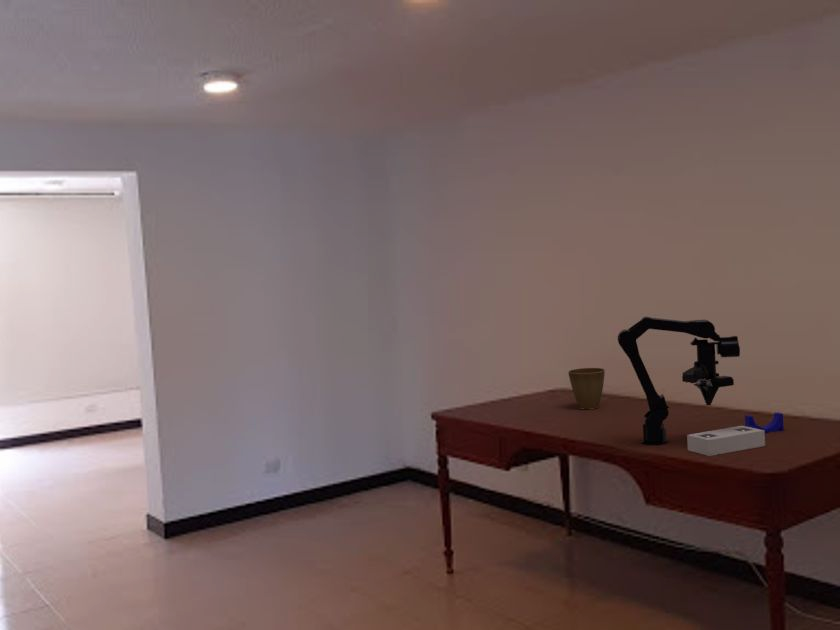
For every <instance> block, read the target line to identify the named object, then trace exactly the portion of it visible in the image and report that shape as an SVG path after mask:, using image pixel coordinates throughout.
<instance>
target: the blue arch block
mask: <svg viewBox="0 0 840 630" xmlns="http://www.w3.org/2000/svg"><path fill="white" fill-rule="evenodd" d="M744 424H745V425H744V426H746V427H751V428H755V429H760V430H764V432H765V434H769V433H775V432H785V431H784V413H782V412H778V411H777V412H774V414H773V418H772V421H770V423H769V424H767V425H764V426H760V425H758V424H757V423H756V422H755V420H754V416H753V415H751V414H744Z"/></svg>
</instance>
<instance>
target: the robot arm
mask: <svg viewBox="0 0 840 630" xmlns="http://www.w3.org/2000/svg"><path fill="white" fill-rule="evenodd" d="M649 330H658V331H666V332H667V331H668V332H676V333H684V334H688V335H691V336H694V338H693V340H692V341H690V342H689V345H690V346H696V357H697V359H696V361H694V362H693V366H692V367H690V368H688V369H687V370H685V371H684V372H682V375H681V379H682V380H681V381H682V382H683V383H684V382H685V383H690V384H693V386H695V387H696V388H697V389H699V391H700V392H701V395H702V397H703V399H704V402H705V405H706V406H712V403H713V401H714V399H715V397H716V394H717V392H718V391H719V388H724V387H731V386H734V385H735V382H734V378H733V377H732V376H728V375H721V376H720V373H719V372H717V365H719V364H720V362H719V360H717V359H716V355H719V356H720V358H738V357H739V358H740V356H741V347H740V343H739V339H738V336H737V335H732V336H722V337H721V336H720V335H719V334H718V333H717V332H716V328H715V325H714V324H713V322H711V321H709V320H708V319H693V320H692V319H691V320H675V319H667V318H657V317H651V316H643V317H642V318H641V319H640V320H639V321H637V322H636V323H635V324H633V325H632V326H631V327H629V328H628V329H622V330H620V331H619V333H618V335H617V342H618V345H619V347H620V348H621V349H622V351H623V352H624V354H625V355H626V357H628V359H629V360H630V364H631V365H632V368H633V370H634V372H635V374H636V377H637V379H638V381H639V383H640V386H641V388H642V390H643V392H644V394H645V397H646V402H647V404H648V405H647V406H648V410H647V412H646V413H645V414H644V415H643V419H644V423H643V424H642V431H643V432H642V433H643V440H642V441H641V444H647V445H648V444H649V445H661V444H664V443H666V442H667V441H668V439H667V429H666V427H665V423H663V422H664V421H665V420H666V419H667V418H668V416H669V412H670V411H669V409H670V406H669V404H668V403H667V402H666V398H665V395H664V394H659V393H658V392H657V391H656V389H655V386H654V384H653V381H652V380H651V377H650V375H649V372H648V370H647V369H646V365H645V364H644V362H643V359H642V357H641V355H640V351H639V347H638V343H637V339H639V338H640V337H641V336H642V335H644V334H645V333H646V332H647V331H649ZM697 337H698V338H701V339H698V338H697ZM708 339H710V340H713V341H709V340H708Z"/></svg>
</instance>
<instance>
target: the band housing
mask: <svg viewBox="0 0 840 630" xmlns="http://www.w3.org/2000/svg"><path fill="white" fill-rule="evenodd" d="M739 428H747V429H750V431H744V432H741V431H737V430H736V429H739ZM704 434H712V435H715V437H710V438H705V437H701V435H704ZM686 437H687V438H686V439H687V442H686V443H687V451H689V452H693V453H697V454H700V455H702V456H704V455H705V456H707V457H713V456H718V454H719V455H722V454H723V455H724V454H729V453H733V452H734V453H735V452H740V451H745V450H750V449H757V448H762V447H766V435H765V432H764V430H760V429H755V428H751V427H746V426H745V425H737V426H731V427H726V428H720V429H715V430H708V431H702V432H697V433H690V434H687V435H686Z"/></svg>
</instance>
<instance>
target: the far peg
mask: <svg viewBox="0 0 840 630" xmlns="http://www.w3.org/2000/svg"><path fill="white" fill-rule="evenodd" d="M736 430H737V431H741V432H744V431H750V429H747V428H739V429H736Z"/></svg>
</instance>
